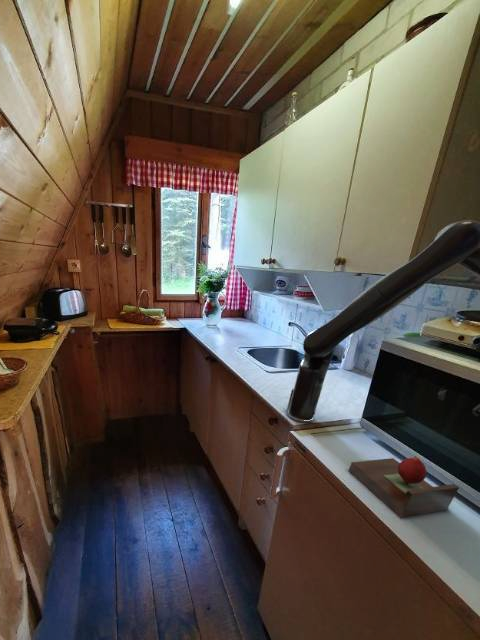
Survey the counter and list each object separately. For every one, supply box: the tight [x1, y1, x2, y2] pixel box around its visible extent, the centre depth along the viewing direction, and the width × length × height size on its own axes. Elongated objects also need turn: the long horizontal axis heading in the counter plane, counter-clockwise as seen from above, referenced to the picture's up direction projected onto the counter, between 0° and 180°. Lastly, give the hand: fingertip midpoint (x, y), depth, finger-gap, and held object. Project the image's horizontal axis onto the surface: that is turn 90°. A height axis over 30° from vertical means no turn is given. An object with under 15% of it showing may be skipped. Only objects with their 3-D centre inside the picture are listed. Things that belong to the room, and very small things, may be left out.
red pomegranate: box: [398, 455, 428, 484], centre depth 77 cm, size 6×6×8 cm
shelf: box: [348, 457, 460, 518], centre depth 79 cm, size 17×15×7 cm
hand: (456, 405), depth 77 cm, fingers open, 8 cm apart
